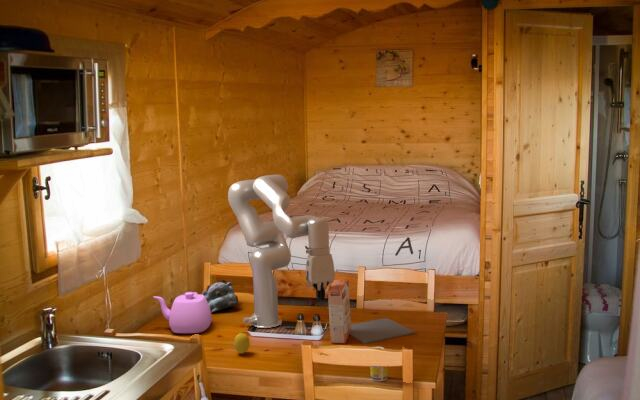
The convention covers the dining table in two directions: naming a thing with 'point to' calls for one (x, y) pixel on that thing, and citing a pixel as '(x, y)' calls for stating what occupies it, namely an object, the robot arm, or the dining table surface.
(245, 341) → the lemon
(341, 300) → the cracker box
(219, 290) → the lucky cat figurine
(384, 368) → the supplement bottle
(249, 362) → the dining table surface
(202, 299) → the teapot
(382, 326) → the slate mat
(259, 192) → the robot arm
